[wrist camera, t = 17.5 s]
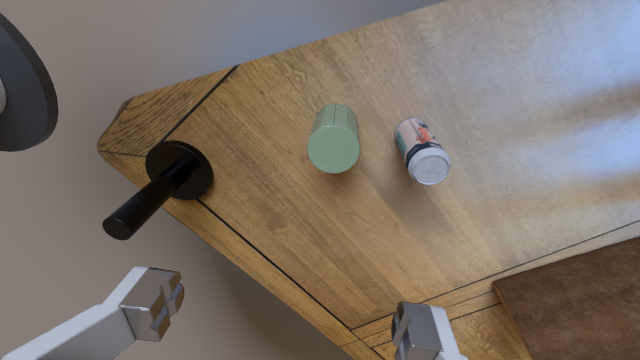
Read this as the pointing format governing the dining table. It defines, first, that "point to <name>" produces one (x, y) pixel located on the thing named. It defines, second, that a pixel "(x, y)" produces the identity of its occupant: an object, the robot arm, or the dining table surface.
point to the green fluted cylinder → (334, 139)
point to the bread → (579, 305)
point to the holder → (162, 186)
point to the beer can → (422, 152)
